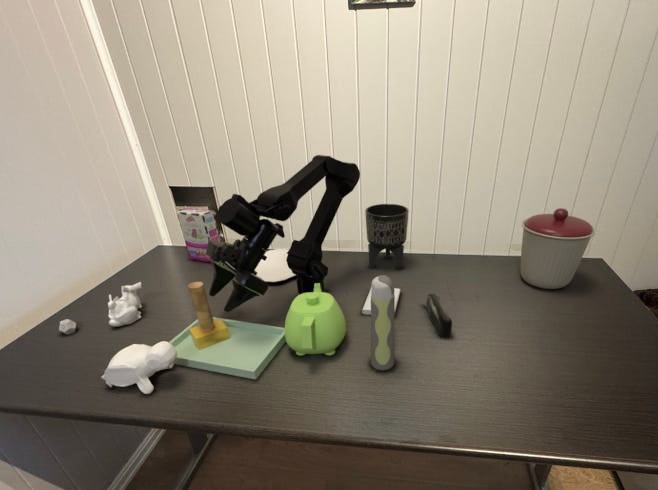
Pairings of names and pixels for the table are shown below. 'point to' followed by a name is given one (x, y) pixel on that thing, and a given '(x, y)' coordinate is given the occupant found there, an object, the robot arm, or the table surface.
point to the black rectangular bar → (438, 315)
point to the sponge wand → (205, 320)
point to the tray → (232, 349)
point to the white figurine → (125, 306)
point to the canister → (553, 248)
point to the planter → (386, 231)
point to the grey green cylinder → (382, 323)
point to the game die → (67, 326)
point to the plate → (274, 266)
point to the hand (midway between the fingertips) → (218, 303)
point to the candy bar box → (198, 231)
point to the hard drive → (367, 304)
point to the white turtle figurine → (139, 365)
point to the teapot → (314, 323)
